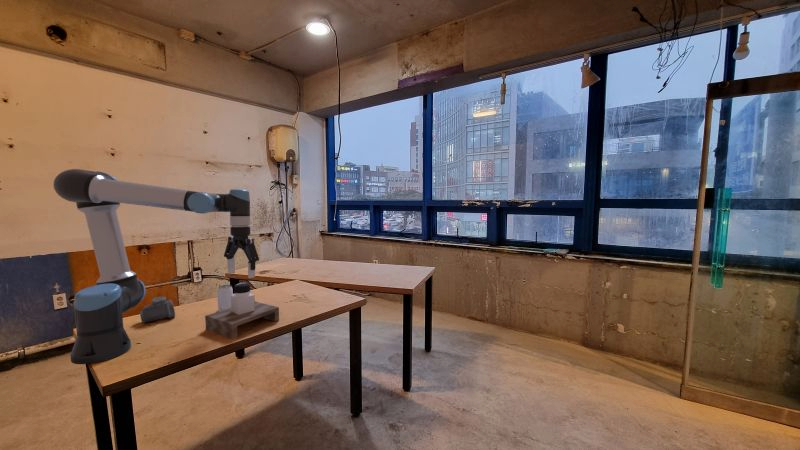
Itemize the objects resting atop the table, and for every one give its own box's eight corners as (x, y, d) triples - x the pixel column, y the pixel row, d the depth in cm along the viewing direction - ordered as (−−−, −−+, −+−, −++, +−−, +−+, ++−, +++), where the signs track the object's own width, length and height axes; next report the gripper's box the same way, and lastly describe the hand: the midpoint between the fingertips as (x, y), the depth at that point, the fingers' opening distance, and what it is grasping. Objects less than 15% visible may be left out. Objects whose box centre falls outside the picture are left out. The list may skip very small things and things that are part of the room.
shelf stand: (205, 329, 128) (205, 315, 128) (253, 313, 147) (252, 300, 147) (232, 339, 120) (232, 324, 119) (279, 320, 139) (278, 307, 138)
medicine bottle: (255, 311, 133) (254, 283, 132) (237, 315, 128) (236, 287, 127) (248, 307, 138) (247, 280, 137) (231, 311, 133) (230, 284, 132)
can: (236, 309, 152) (235, 285, 151) (222, 313, 147) (221, 289, 146) (228, 307, 155) (227, 284, 155) (215, 311, 150) (214, 286, 149)
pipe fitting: (174, 312, 146) (170, 292, 144) (177, 318, 141) (173, 298, 138) (141, 322, 138) (137, 301, 136) (143, 329, 133) (138, 307, 130)
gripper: (267, 227, 128) (268, 277, 129) (230, 224, 139) (231, 270, 141) (251, 228, 121) (252, 281, 123) (214, 225, 133) (215, 273, 134)
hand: (241, 275), depth 132 cm, fingers open, 13 cm apart
